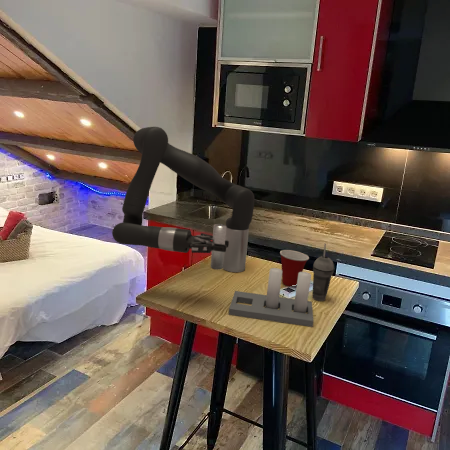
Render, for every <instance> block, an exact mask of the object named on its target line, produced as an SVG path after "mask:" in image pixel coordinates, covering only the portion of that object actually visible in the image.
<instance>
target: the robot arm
mask: <svg viewBox="0 0 450 450" xmlns="http://www.w3.org/2000/svg"><path fill="white" fill-rule="evenodd" d="M132 140H133V146H134V148H135V149H136V151H138V153H140V154H141V159H140V162H139V165H138V167H137V170H136V171H135V174H134V176H133V177H132V179H131V181H130V183H129V185H128V187H127V190H126V192H125V196H124V201H123V203H122V207H121V208H122V209H121V210H122V213H123V220H122V222H119V223H117V224H115V226H114V227H113V229H112V231H111V233H112V235H111V236H112V237H113V240H115V242H116V243H118V244H121V245H130V246H140V247H141V246H142V247H148V248H153V249H159V250H164V251H170V252H176V253H177V252H178V253H189V251H190V250H191V251H190V252H191V253H193V254H210V253H211V254H212V252H213V251H220V252H224V261H223V270H225V271H226V272H231V273H241V272H244V271H245V270H246V263H247V253H248V252H247V251H248V242H249V233H250V232H249V231H250V225H251V223H252V221H253V216H254V209H255V194H254V193H253V191H252V190H251V189H249V188H247V187H243V186H241V185H240V184H239V185H238V184H236V183H234V182H232V181H230V180H227V179H226V178H224V177H223V176H222V175H221V174H220V173H219V172H218V171H217V170H216V169H215V167H213V166H212V165H211V164H210V163H209V162H207V161H205V159H204V160H203V159H202V158H201V157H199V156H197V155H196V154H195V155H194V154H193V153H191V152H188V151H185V150H183V149H180V148H177V147H175V146H174V145H172V144H171V143H169V135H168V134H167V132H166V131H165V130H164V129H163V128H162V127H159V126H146V127H142V128H139V129H138V130H137V131H136V132H135V133H134V135H133V139H132ZM160 163H161V164H163V165H164V166H166V167H167V168H168V169H170V170H171V171H172V172H174V173H176V174H177V176H180V177H181V178H183V179H184V180H186V181H187V182H188V183H191V184H192V185H194V186H195V187H198V188H199V189H201V190H203V191H205V192H208V193H211V194H212V195H214V196H215V197H216V198H218V199H219V200H220V201H222V202H223V203H224V204H225V205H226V206H227V207H229V208H231V209H232V214H231V217H228V218H226V221H225V225H226V237H225V245H223V244H215V245H214V243H212V241H213V234H207V233H200V234H196V235H192V231H191V230H190V229H186V228H179V227H178V228H177V227H171V226H169V227H168V226H166V227H163V226H155V225H143V218H144V217H143V215H144V211H145V209H146V208H145V207H146V204H147V201H148V197H149V194H150V190H151V187H152V185H153V181H154V179H155V176H156V173H157V171H158V168H159V166H160Z"/></svg>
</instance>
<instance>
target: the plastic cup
mask: <svg viewBox="0 0 450 450" xmlns="http://www.w3.org/2000/svg"><path fill="white" fill-rule="evenodd" d="M279 254H280V261H281V270H282V279H281V283H282V284H283V285H284V286H285V287H286V286H287V287H290V286H292V285H296V284H297V280H298V273H299V272H304V271H303V270H304V268H305V266H306V263H307V261H308V260H309V259H310V257H309V255H308V254H306V253H302V252H300V251H296V250H290V249H284V250H280V252H279Z"/></svg>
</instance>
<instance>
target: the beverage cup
mask: <svg viewBox="0 0 450 450" xmlns="http://www.w3.org/2000/svg"><path fill="white" fill-rule="evenodd" d="M326 248H327V243H324V247H323V255H321V256H319V257H318V258H316V260H315V261H314V262H313V265H312V273H313V278H312V299H313V300H315V301H318V302H324V301H326V298H327V295H328V291H329V288H330V282H331V280H332V276H333V274H334V271H335V266H334V262H333V260H332V259H331V258H330V257H328V256H326Z"/></svg>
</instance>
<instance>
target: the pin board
mask: <svg viewBox="0 0 450 450" xmlns="http://www.w3.org/2000/svg"><path fill="white" fill-rule="evenodd" d="M268 273H269V274H268V282H267V290H266V291H267V292H266V294H261V293H253V292H247V291H239V290H234V293H233V296H232V299H231V302H230V305H229V307H228V315H229V316H235V317H243V318H251V319H256V320H264V321H270V322H277V323H283V324H291V325H297V326H304V327H311V328H313V327H314V313H313V311H314V310H313V301H312V300H311V301H310V300H309V293H310V289H311V288H310V285H311V280H312V274H311V273H310V272H307V271H302V272H299V273H298V280H297V286H296V288H295V296H294V298H289V297H282V296H281V295H280V292H281V285H282V268H277V267H271V268H269V272H268Z"/></svg>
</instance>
